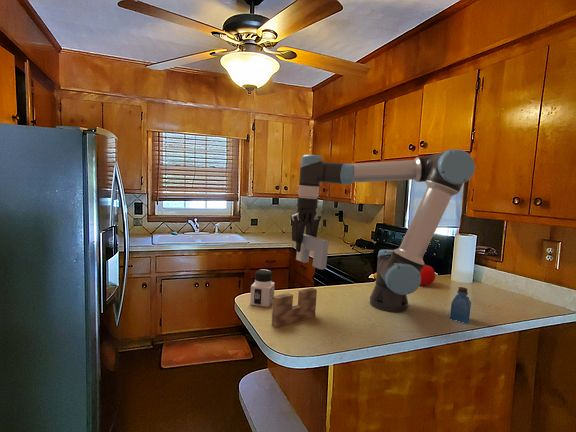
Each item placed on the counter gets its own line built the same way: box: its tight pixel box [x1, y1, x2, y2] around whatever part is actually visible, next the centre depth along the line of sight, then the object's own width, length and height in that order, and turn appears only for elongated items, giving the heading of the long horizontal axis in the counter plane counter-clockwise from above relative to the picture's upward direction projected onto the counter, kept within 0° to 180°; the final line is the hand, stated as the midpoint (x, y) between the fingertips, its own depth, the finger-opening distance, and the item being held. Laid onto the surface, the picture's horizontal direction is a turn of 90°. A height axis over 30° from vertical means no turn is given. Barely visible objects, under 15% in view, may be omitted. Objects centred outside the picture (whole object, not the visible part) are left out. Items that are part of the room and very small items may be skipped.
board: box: [271, 287, 318, 328], centre depth 118 cm, size 18×2×10 cm, turn 129°
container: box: [249, 268, 275, 308], centre depth 133 cm, size 8×8×13 cm
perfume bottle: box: [449, 286, 472, 324], centre depth 127 cm, size 6×6×12 cm
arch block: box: [297, 233, 329, 270], centre depth 122 cm, size 14×2×10 cm, turn 37°
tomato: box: [420, 263, 436, 287], centre depth 170 cm, size 11×12×10 cm
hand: (302, 259), depth 126 cm, fingers closed on arch block, 2 cm apart
